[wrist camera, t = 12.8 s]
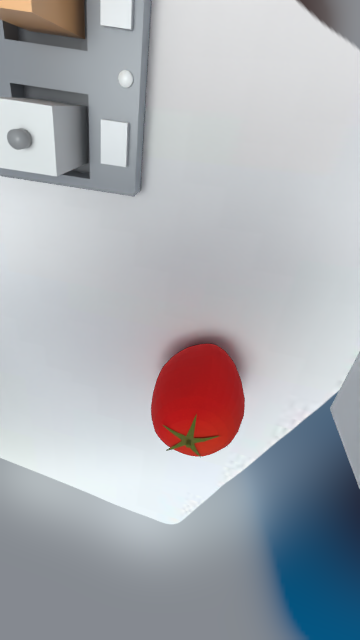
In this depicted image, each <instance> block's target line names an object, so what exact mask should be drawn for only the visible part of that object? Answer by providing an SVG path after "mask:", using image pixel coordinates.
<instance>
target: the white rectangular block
mask: <svg viewBox="0 0 360 640" xmlns="http://www.w3.org/2000/svg"><path fill="white" fill-rule="evenodd" d="M87 163H88V142H87V106H82V105H75V104H69V103H62V102H55V101H49V100H42V99H35V98H13V97H0V168H5V169H11V170H18V171H24V172H31V173H37V174H44V175H50V176H59V175H61V174H64V173H66V172H68V171H71V170H73V169H75V168H78V167H80V166H82V165H85V164H87Z"/></svg>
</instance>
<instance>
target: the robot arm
mask: <svg viewBox="0 0 360 640" xmlns="http://www.w3.org/2000/svg"><path fill="white" fill-rule="evenodd" d="M330 410H331V413H332V416H333V418H334V421H335V424H336V426H337V429H338V432H339V434H340V437H341V440H342V443H343V445H344V448H345V450H346V453H347V456H348V459H349V462H350V464H351V467H352V469H353V472H354V475H355V478H356V480H357V483H358V486H359V489H360V352H359V354H358V356H357V358H356V360H355V362H354V364H353V366H352V367H351V369H350V371H349V373H348V375H347V377H346V379H345V381H344V383H343V385H342V387H341V388H340V390H339V392H338V394H337V396H336V398H335V400H334V402H333V404H332V406H331V407H330Z"/></svg>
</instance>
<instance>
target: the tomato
mask: <svg viewBox="0 0 360 640" xmlns="http://www.w3.org/2000/svg"><path fill="white" fill-rule="evenodd" d="M244 401H245V398H244V393H243V388H242V382H241V379H240V376H239V374H238V371H237V368H236V366H235V364H234V362H233V361H232V359H231V358H230V357H229V355H228V354H227V353H226V352H225V351H224V350H223V349H222V348H220V347H219V346H217V345H214V344H199V345H194V346H191V347H188V348H186V349H184V350H182V351H180V352H179V353H177V354H176V355H174V356H173V357H172V358H171V359H170V360H169V361H168V362H167V363H166V364H165V365H164V366H163V368H162V370H161V372H160V374H159V376H158V378H157V381H156V385H155V388H154V392H153V397H152V405H151V415H152V421H153V425H154V429H155V432H156V434H157V435H158V437H159V438H160V439H161V440H162V441H163V442H164V443H165V444H166V445H167V446H169V447H170V448H169V449H167V450H171V449H174V450H176V451H178V452H181V453H183V454H187V455H191V456H206V455H210V454H212V453H215V452H217V451H219V450H221V449H223V448H224V447H226V446H227V445H228V444H230V442H231V441H232V440H233V438H234V437H235V435H236V434H237V432H238V430H239V427H240V424H241V421H242V419H243V416H244ZM167 450H166V451H167Z"/></svg>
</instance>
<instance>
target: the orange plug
mask: <svg viewBox="0 0 360 640" xmlns="http://www.w3.org/2000/svg"><path fill="white" fill-rule="evenodd" d="M0 20H3V21H5V22H8V23H10V24H13V25H15V26H18V27H20V28H23V29H25V30H28V31H33V32H39V33H46V34H53V35H60V36H67V37H73V38H80V39H85V14H84V0H0Z"/></svg>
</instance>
